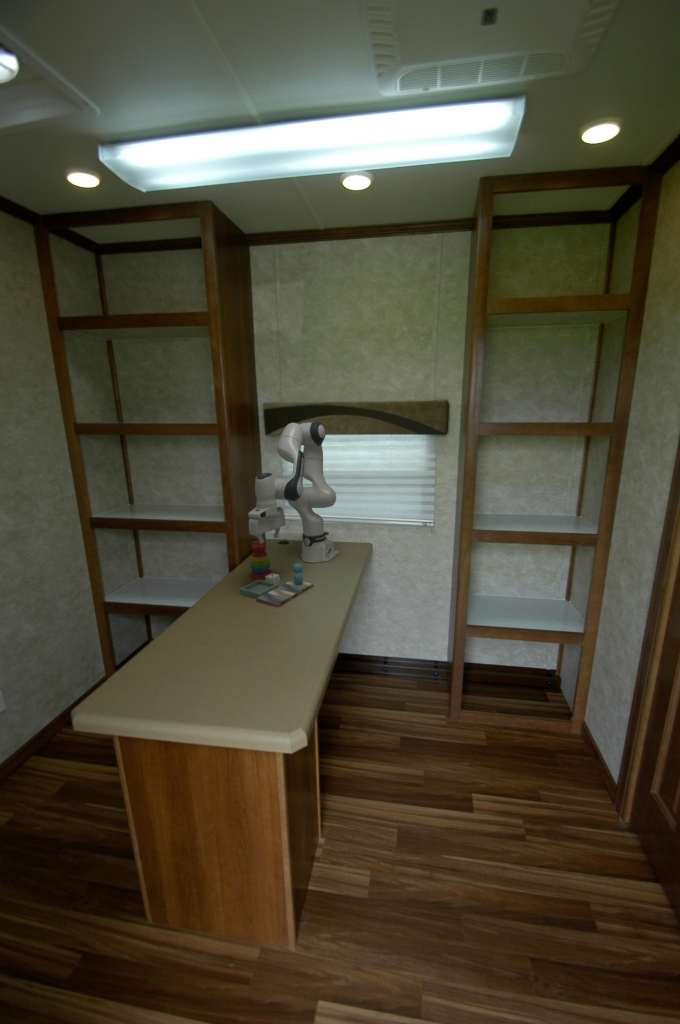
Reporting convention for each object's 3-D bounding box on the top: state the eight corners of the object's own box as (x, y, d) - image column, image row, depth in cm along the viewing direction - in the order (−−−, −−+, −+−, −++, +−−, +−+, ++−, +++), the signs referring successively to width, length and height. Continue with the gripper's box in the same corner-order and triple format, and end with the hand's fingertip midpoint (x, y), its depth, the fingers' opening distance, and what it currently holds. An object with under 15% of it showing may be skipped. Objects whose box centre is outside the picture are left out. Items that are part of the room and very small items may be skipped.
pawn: (297, 581, 196) (296, 561, 194) (305, 582, 194) (304, 562, 192) (291, 584, 193) (290, 564, 190) (299, 586, 190) (298, 565, 188)
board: (292, 581, 199) (292, 578, 199) (313, 586, 193) (313, 583, 192) (256, 601, 180) (256, 598, 179) (278, 607, 173) (277, 604, 173)
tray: (258, 584, 197) (258, 579, 197) (278, 589, 191) (278, 584, 190) (239, 594, 188) (239, 588, 187) (259, 599, 181) (259, 594, 181)
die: (272, 582, 200) (271, 573, 199) (280, 584, 197) (279, 574, 196) (266, 585, 196) (265, 576, 195) (273, 587, 194) (272, 578, 193)
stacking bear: (274, 571, 213) (272, 537, 209) (269, 579, 203) (266, 543, 199) (253, 571, 214) (250, 537, 210) (247, 579, 204) (244, 543, 200)
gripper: (277, 505, 199) (279, 533, 202) (245, 514, 182) (248, 545, 185) (287, 506, 195) (289, 535, 199) (256, 515, 179) (258, 547, 182)
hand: (269, 540), depth 192 cm, fingers open, 8 cm apart
